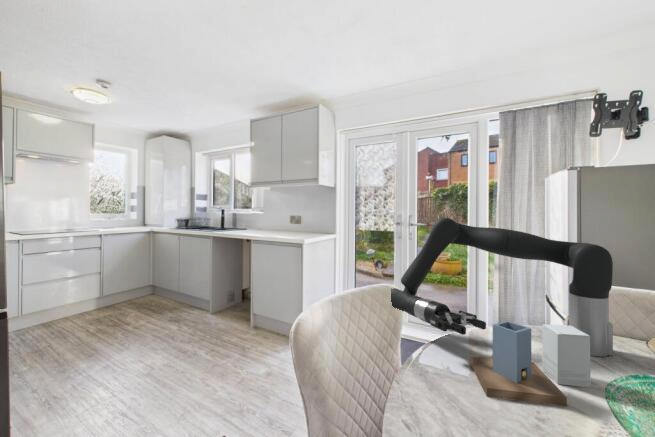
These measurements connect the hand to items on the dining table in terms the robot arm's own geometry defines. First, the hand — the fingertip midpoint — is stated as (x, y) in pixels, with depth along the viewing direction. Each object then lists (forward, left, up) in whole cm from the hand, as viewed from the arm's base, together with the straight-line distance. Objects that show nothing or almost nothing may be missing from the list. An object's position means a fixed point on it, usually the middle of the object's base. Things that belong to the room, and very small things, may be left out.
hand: (475, 328), depth 82 cm
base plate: (-7, +8, -10) cm, 14 cm away
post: (-7, +8, -8) cm, 13 cm away
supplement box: (-21, +3, -10) cm, 23 cm away
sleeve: (-6, +8, -8) cm, 13 cm away
